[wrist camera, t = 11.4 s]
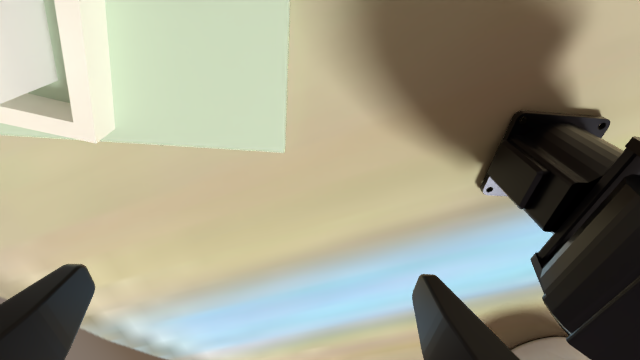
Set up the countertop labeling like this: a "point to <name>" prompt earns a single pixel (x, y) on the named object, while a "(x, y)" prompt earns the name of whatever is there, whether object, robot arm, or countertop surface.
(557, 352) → the mug
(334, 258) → the countertop surface
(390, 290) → the countertop surface
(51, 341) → the robot arm
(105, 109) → the white square frame
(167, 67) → the board
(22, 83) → the plug
